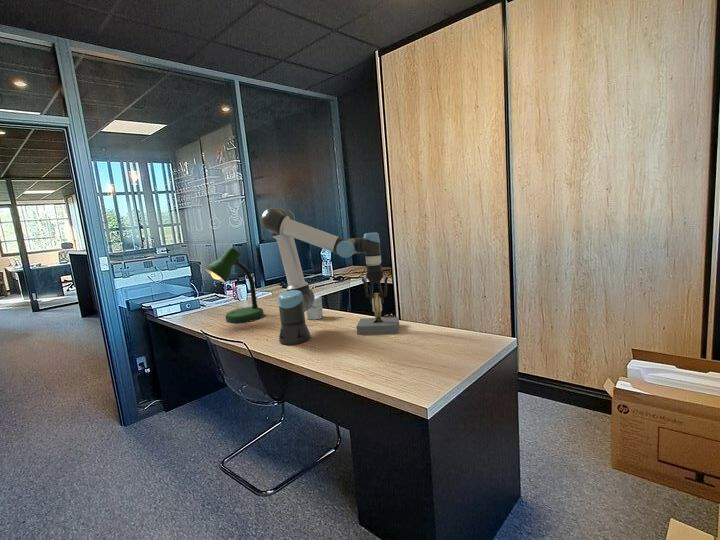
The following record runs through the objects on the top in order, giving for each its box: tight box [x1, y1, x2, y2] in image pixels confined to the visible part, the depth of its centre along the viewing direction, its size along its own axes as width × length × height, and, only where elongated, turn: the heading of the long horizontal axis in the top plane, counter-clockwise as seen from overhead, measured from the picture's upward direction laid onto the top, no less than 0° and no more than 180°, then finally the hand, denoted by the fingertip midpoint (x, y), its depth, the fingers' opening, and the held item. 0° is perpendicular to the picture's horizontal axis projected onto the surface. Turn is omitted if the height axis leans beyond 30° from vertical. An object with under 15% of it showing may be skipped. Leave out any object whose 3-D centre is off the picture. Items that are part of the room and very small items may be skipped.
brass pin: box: [372, 292, 382, 322], centre depth 186 cm, size 3×3×14 cm
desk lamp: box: [204, 246, 265, 324], centre depth 228 cm, size 31×23×45 cm
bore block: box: [356, 316, 400, 335], centre depth 188 cm, size 14×20×4 cm
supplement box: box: [305, 295, 324, 320], centre depth 219 cm, size 7×7×13 cm
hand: (377, 310), depth 187 cm, fingers closed on brass pin, 3 cm apart
